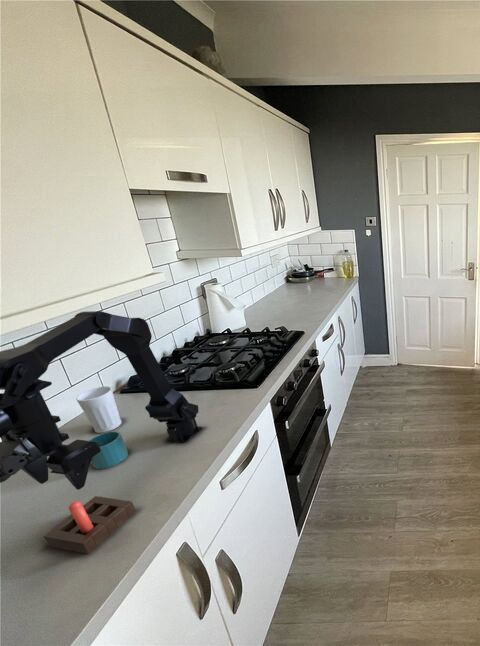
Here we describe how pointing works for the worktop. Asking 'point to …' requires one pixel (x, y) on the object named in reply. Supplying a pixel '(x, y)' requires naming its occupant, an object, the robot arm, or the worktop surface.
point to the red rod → (81, 517)
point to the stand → (103, 518)
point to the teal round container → (109, 450)
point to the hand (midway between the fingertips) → (62, 485)
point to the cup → (100, 408)
